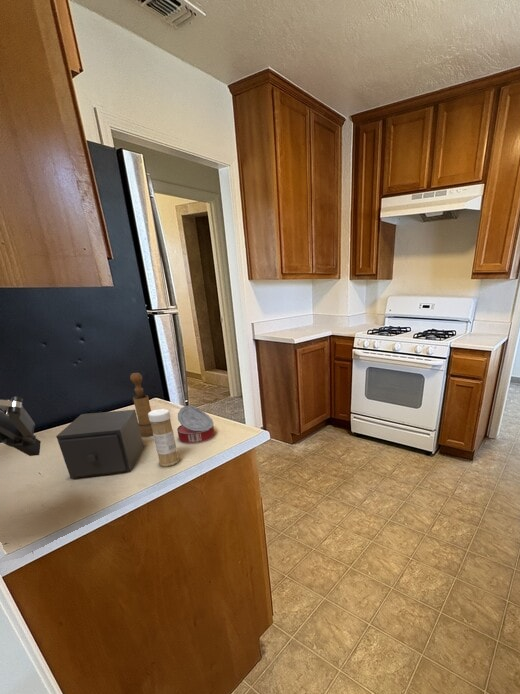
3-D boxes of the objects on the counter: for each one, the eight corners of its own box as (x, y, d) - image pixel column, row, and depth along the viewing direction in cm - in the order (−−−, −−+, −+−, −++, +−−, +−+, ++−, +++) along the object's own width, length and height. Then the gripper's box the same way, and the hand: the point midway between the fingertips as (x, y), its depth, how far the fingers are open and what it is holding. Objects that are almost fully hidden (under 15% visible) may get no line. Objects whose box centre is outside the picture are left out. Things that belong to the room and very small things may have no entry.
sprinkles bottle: (172, 457, 90) (162, 407, 84) (183, 461, 87) (173, 410, 82) (155, 464, 86) (143, 412, 81) (166, 469, 84) (154, 416, 79)
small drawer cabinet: (130, 471, 83) (119, 429, 79) (70, 478, 80) (56, 436, 76) (143, 446, 96) (135, 409, 92) (92, 451, 93) (81, 414, 89)
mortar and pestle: (135, 438, 101) (120, 376, 94) (136, 430, 107) (122, 371, 100) (160, 434, 104) (148, 374, 97) (160, 427, 109) (148, 369, 102)
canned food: (206, 443, 108) (218, 413, 108) (211, 452, 100) (223, 420, 99) (168, 432, 103) (180, 401, 102) (170, 441, 94) (182, 407, 93)
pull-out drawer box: (124, 473, 80) (114, 437, 77) (68, 480, 78) (55, 443, 75) (138, 446, 94) (131, 415, 90) (91, 452, 91) (81, 420, 88)
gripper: (-156, 414, 40) (-11, 473, 61) (-19, 404, 43) (74, 463, 64) (-137, 359, 43) (-4, 433, 64) (-10, 353, 45) (77, 426, 67)
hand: (35, 448), depth 64 cm, fingers closed
